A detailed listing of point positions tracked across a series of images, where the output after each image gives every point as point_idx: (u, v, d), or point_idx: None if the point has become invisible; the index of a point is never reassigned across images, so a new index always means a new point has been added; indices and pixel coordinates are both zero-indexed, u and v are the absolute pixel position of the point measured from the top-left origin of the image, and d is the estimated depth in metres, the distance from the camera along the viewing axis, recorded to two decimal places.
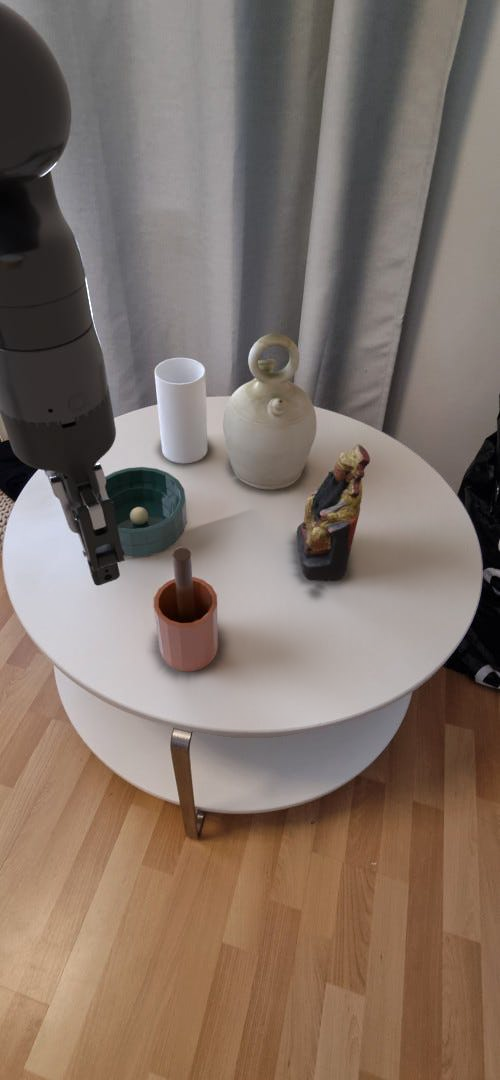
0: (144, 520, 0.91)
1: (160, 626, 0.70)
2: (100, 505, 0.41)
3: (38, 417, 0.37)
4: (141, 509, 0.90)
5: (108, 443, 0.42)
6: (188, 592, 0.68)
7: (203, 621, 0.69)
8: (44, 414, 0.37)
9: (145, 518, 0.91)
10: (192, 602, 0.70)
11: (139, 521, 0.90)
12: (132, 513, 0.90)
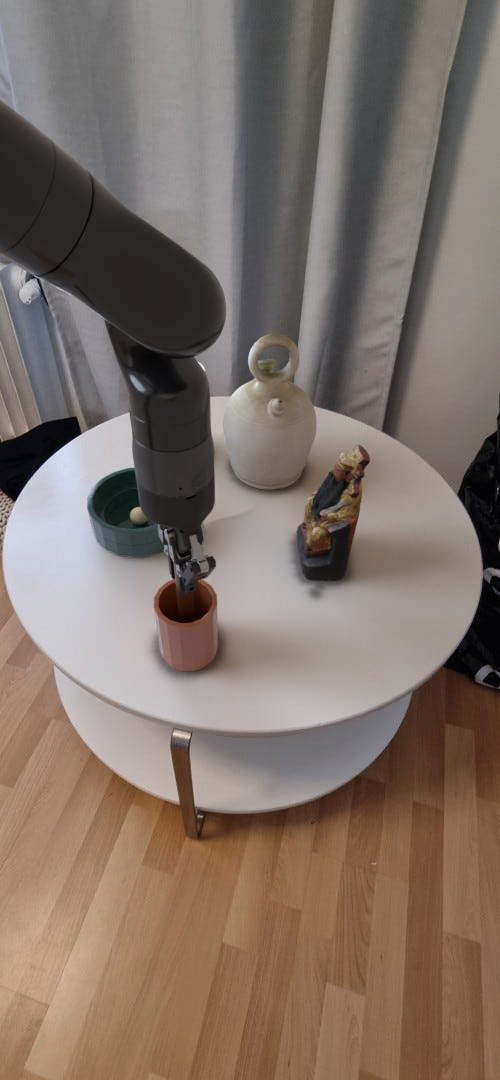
0: (144, 520, 0.91)
1: (160, 626, 0.70)
2: (208, 565, 0.57)
3: (171, 493, 0.53)
4: None
5: (212, 506, 0.57)
6: None
7: (203, 621, 0.69)
8: (176, 491, 0.53)
9: (145, 518, 0.91)
10: (192, 602, 0.70)
11: (139, 521, 0.90)
12: (132, 513, 0.90)
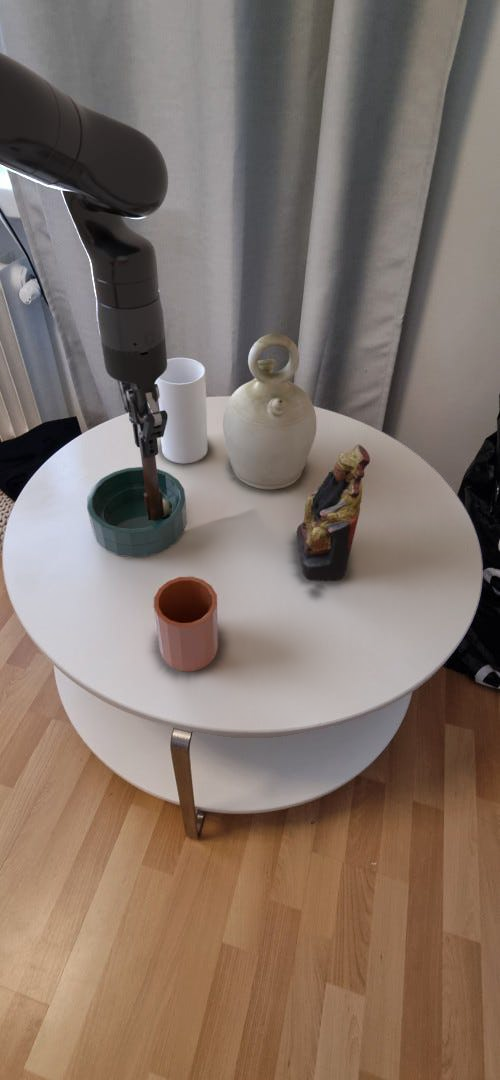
0: None
1: (160, 626, 0.70)
2: (161, 416, 0.71)
3: (127, 348, 0.66)
4: None
5: (164, 368, 0.71)
6: (150, 458, 0.81)
7: (203, 621, 0.69)
8: (131, 346, 0.66)
9: (162, 516, 0.92)
10: (155, 469, 0.83)
11: (168, 512, 0.92)
12: None
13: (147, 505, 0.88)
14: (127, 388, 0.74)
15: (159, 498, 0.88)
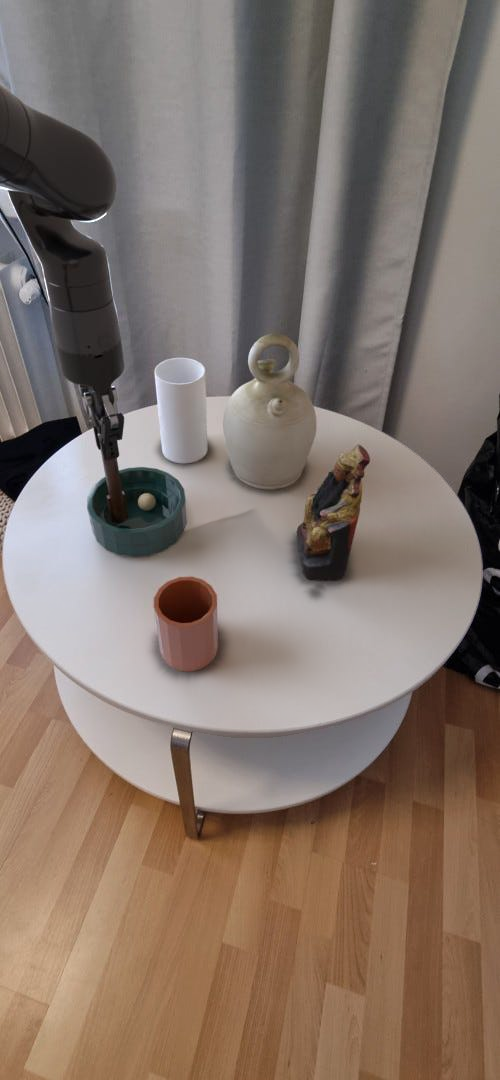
0: (141, 505, 0.92)
1: (160, 626, 0.70)
2: (117, 418, 0.71)
3: (81, 351, 0.66)
4: (153, 505, 0.93)
5: (120, 371, 0.71)
6: (111, 460, 0.82)
7: (203, 621, 0.69)
8: (85, 349, 0.66)
9: (143, 506, 0.92)
10: (117, 472, 0.84)
11: (142, 500, 0.92)
12: (151, 495, 0.93)
13: (110, 507, 0.88)
14: (85, 391, 0.74)
15: (122, 501, 0.88)
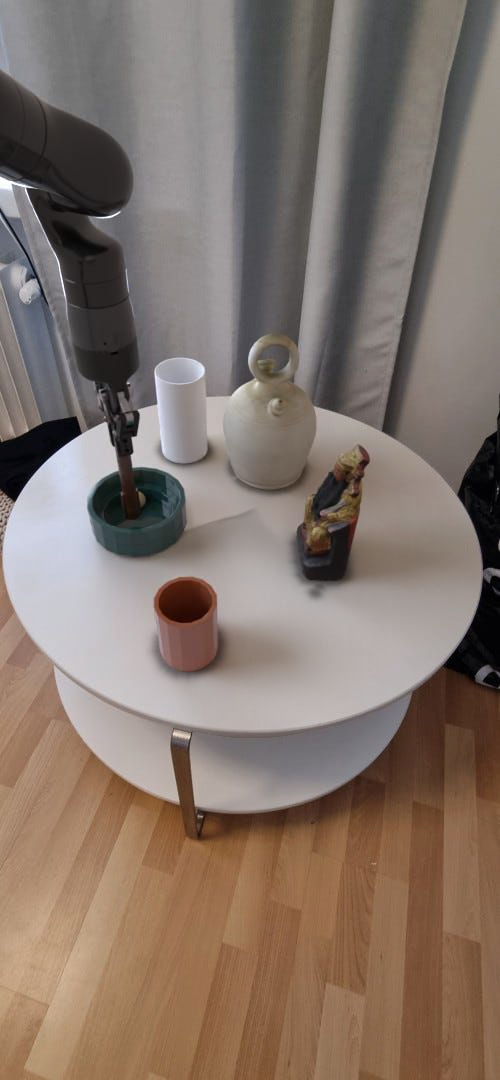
0: None
1: (160, 626, 0.70)
2: (133, 415, 0.71)
3: (97, 347, 0.66)
4: None
5: (135, 367, 0.71)
6: (126, 457, 0.81)
7: (203, 621, 0.69)
8: (101, 346, 0.66)
9: None
10: (131, 469, 0.83)
11: None
12: None
13: (124, 504, 0.88)
14: (100, 388, 0.74)
15: (135, 497, 0.88)
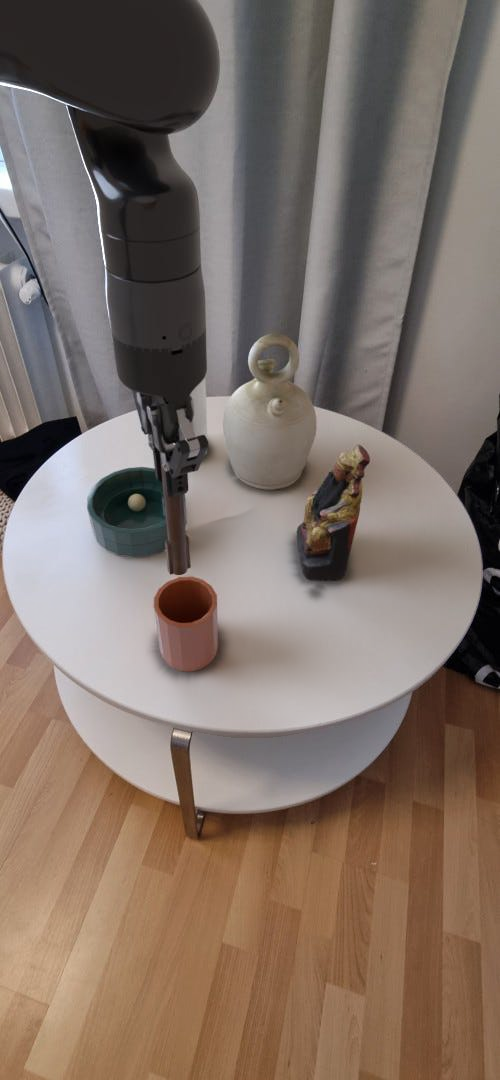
0: (131, 509, 0.93)
1: (160, 626, 0.70)
2: (199, 443, 0.48)
3: (153, 344, 0.44)
4: (136, 503, 0.92)
5: (203, 373, 0.48)
6: (177, 497, 0.59)
7: (203, 621, 0.69)
8: (158, 341, 0.44)
9: (132, 509, 0.93)
10: (182, 511, 0.61)
11: (128, 504, 0.93)
12: (131, 496, 0.92)
13: (169, 556, 0.65)
14: (148, 402, 0.52)
15: (185, 547, 0.65)
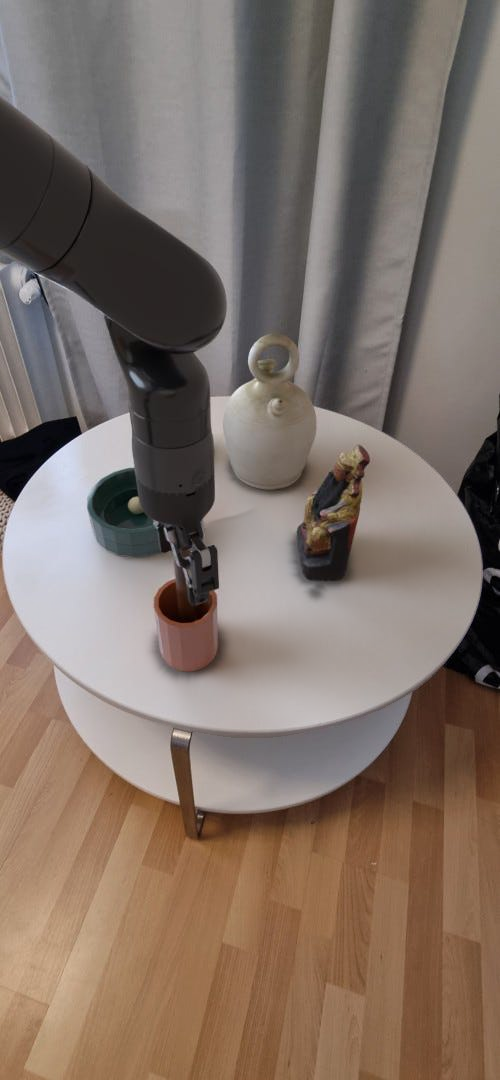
0: None
1: (160, 626, 0.70)
2: (208, 550, 0.56)
3: (171, 490, 0.53)
4: (137, 510, 0.92)
5: (212, 503, 0.57)
6: None
7: (203, 621, 0.69)
8: (175, 488, 0.52)
9: (133, 513, 0.93)
10: None
11: None
12: (132, 502, 0.92)
13: None
14: None
15: None
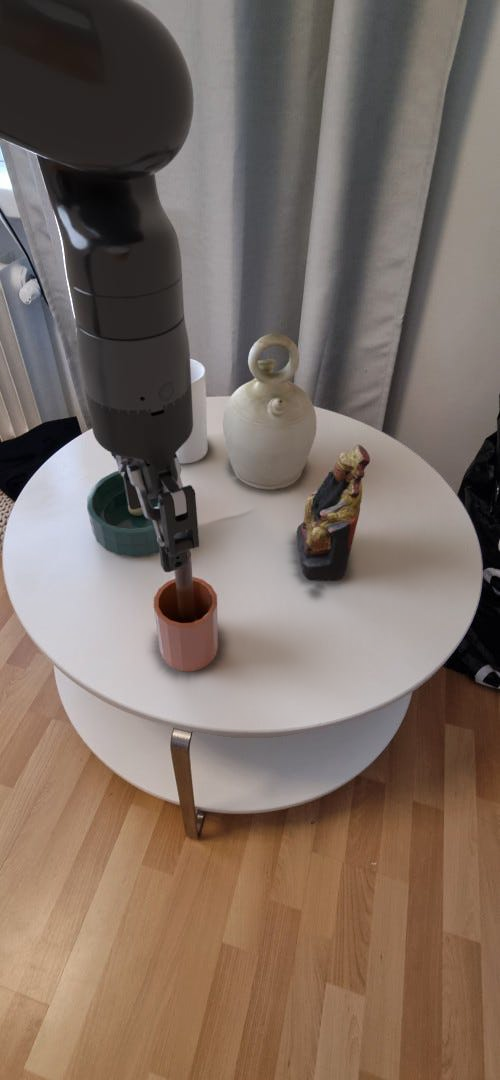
0: None
1: (160, 626, 0.70)
2: (183, 492, 0.42)
3: (130, 405, 0.39)
4: (137, 513, 0.92)
5: (188, 432, 0.43)
6: (188, 592, 0.68)
7: (203, 621, 0.69)
8: (136, 402, 0.39)
9: None
10: (192, 602, 0.70)
11: None
12: None
13: None
14: (128, 460, 0.47)
15: None
